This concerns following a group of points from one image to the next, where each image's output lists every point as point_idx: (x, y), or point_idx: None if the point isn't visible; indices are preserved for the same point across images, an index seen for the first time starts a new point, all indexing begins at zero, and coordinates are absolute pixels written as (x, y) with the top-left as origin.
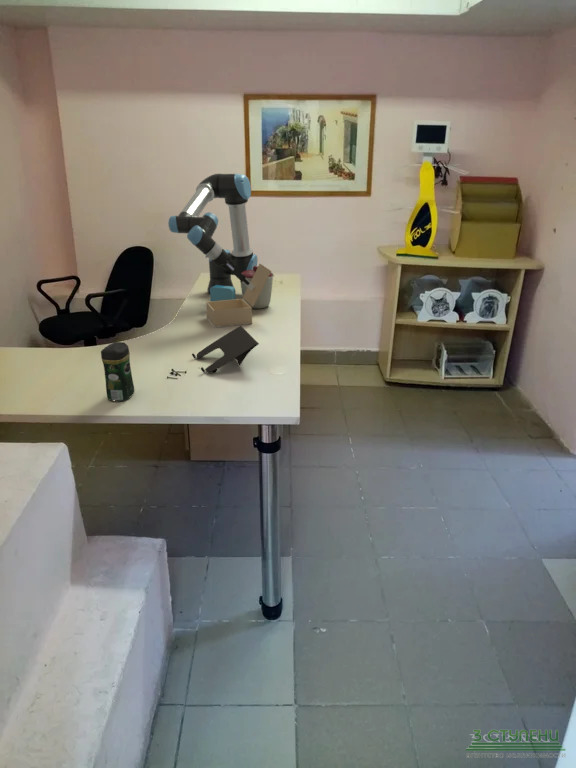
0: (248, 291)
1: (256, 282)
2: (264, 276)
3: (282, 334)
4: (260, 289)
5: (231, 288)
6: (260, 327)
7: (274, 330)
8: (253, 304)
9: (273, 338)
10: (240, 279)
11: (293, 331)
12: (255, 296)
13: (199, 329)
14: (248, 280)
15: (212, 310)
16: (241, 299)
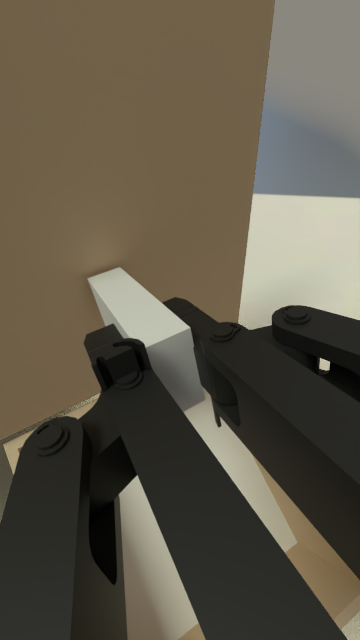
0: (27, 371)
1: (72, 237)
2: (194, 67)
3: (304, 229)
4: (247, 213)
5: None
6: (246, 311)
7: (270, 256)
8: (236, 315)
9: (351, 256)
10: (347, 388)
11: (264, 195)
12: (217, 286)
13: (349, 629)
14: (159, 304)
15: (343, 615)
16: (17, 448)
